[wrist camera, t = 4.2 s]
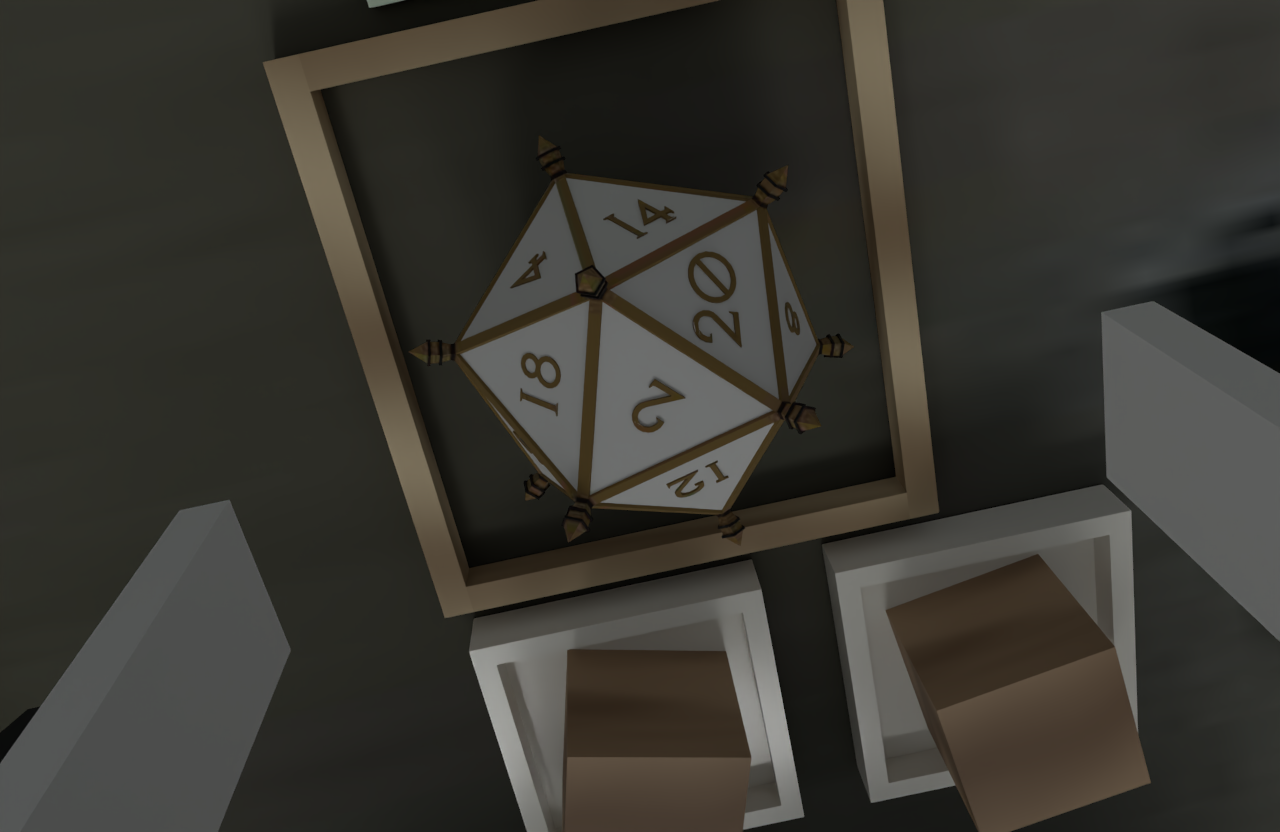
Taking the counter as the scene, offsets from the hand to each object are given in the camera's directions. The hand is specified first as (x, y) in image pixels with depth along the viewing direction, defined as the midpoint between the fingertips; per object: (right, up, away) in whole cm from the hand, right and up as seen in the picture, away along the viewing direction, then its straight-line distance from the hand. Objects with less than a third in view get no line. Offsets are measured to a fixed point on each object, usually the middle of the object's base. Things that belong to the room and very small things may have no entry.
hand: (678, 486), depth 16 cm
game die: (-1, +4, +11) cm, 12 cm away
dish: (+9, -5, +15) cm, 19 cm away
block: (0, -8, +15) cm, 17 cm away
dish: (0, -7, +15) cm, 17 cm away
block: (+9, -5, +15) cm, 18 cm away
